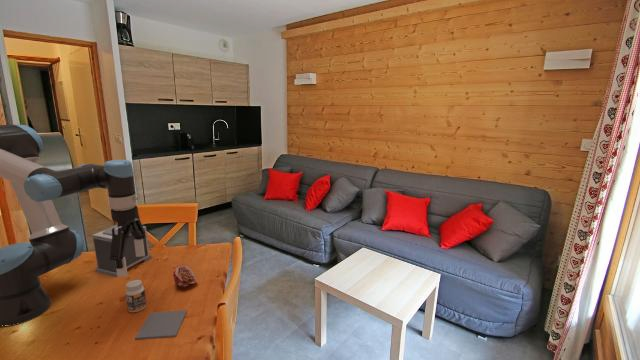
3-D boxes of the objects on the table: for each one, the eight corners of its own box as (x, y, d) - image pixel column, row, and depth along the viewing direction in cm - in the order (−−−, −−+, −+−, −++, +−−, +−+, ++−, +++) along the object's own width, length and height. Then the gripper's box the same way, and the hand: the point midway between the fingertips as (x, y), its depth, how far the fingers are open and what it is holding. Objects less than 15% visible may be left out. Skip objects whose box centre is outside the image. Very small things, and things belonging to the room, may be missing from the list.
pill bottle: (138, 314, 105) (134, 289, 103) (124, 311, 106) (120, 286, 104) (150, 304, 111) (147, 279, 108) (136, 302, 112) (133, 277, 110)
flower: (164, 289, 117) (175, 274, 115) (169, 273, 125) (179, 259, 123) (188, 297, 121) (199, 283, 120) (191, 280, 129) (201, 267, 128)
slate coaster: (135, 339, 94) (134, 338, 94) (150, 314, 106) (150, 312, 105) (175, 336, 96) (175, 334, 95) (186, 311, 107) (186, 310, 107)
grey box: (131, 253, 148) (126, 217, 144) (153, 257, 144) (148, 221, 140) (94, 271, 131) (87, 232, 127) (117, 277, 127) (110, 237, 123)
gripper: (117, 220, 89) (126, 285, 94) (151, 196, 113) (157, 248, 118) (89, 221, 87) (100, 286, 92) (129, 196, 111) (136, 249, 116)
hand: (132, 265), depth 105 cm, fingers open, 13 cm apart
